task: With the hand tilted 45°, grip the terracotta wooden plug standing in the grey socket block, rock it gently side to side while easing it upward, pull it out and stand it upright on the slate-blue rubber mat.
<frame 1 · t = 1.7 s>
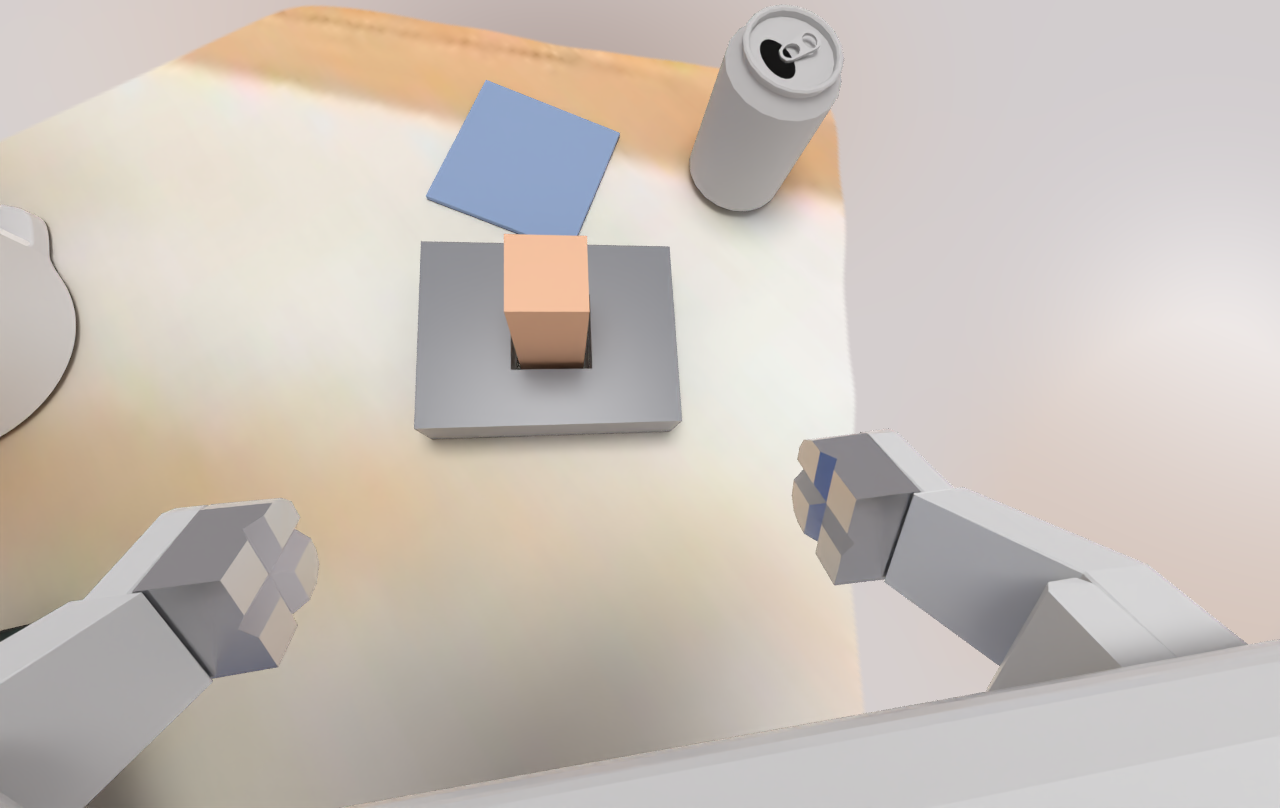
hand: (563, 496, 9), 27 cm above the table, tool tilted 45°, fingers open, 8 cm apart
mat: (527, 166, 39), on the table
plug: (550, 319, 31), in the grey socket block
grey socket block: (552, 350, 37), on the table
can: (731, 177, 42), on the table
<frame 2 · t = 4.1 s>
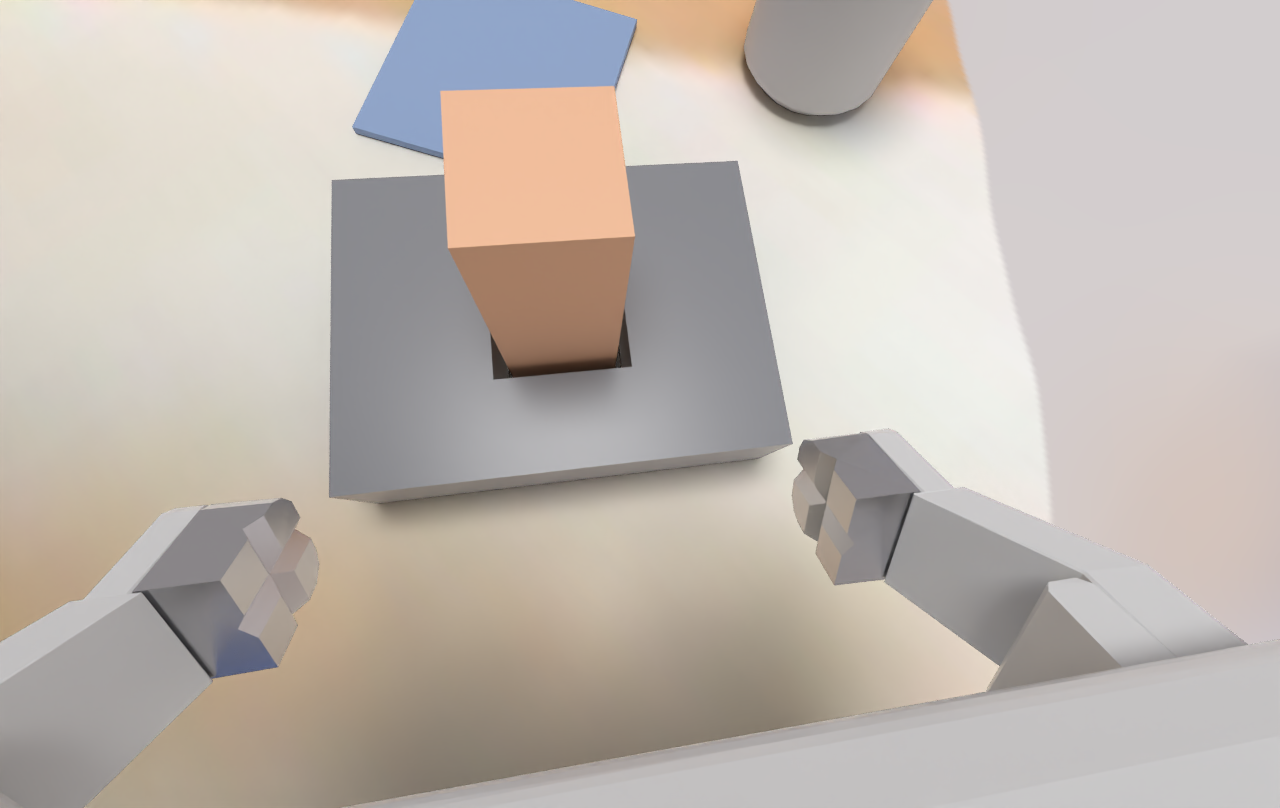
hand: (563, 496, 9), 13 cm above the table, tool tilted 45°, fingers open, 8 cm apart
mat: (504, 76, 26), on the table
plug: (554, 284, 17), in the grey socket block
grey socket block: (563, 346, 23), on the table
can: (805, 73, 28), on the table
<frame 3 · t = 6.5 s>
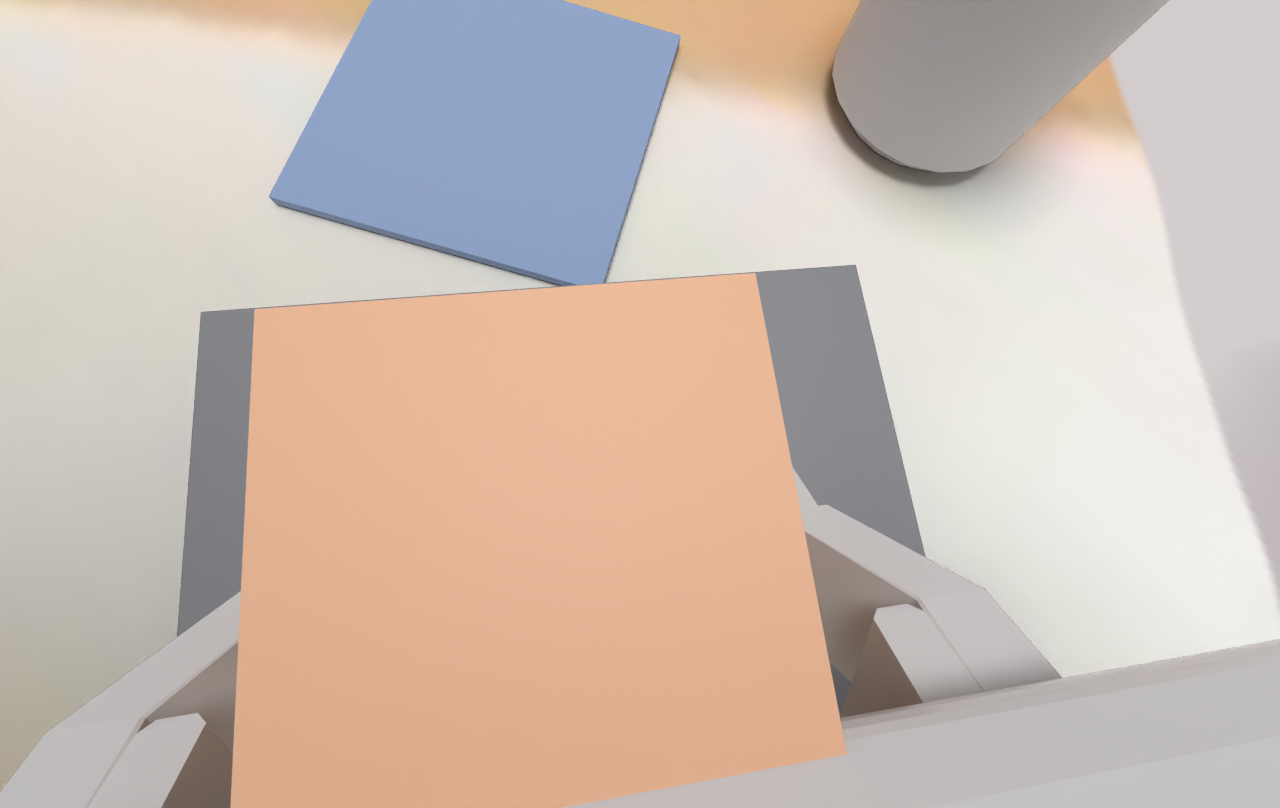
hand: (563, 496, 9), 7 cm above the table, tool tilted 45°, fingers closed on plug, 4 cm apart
mat: (493, 118, 18), on the table
plug: (570, 535, 10), in the grey socket block, touching gripper
grey socket block: (579, 533, 15), on the table
can: (911, 109, 21), on the table
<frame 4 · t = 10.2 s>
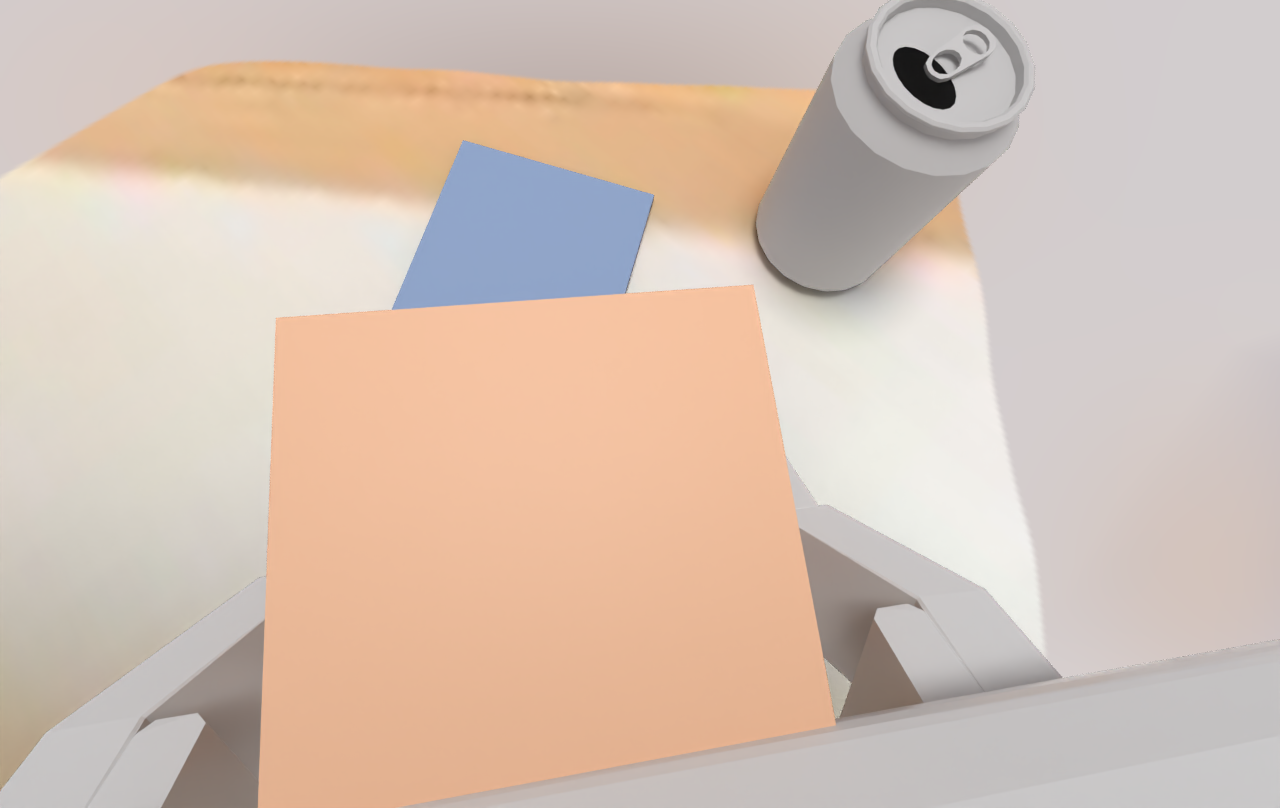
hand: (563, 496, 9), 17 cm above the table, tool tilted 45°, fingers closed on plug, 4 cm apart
mat: (529, 256, 28), on the table
plug: (570, 535, 10), point 16 cm above the table, touching gripper
can: (813, 240, 30), on the table
when the fingers open (9 cm above the table, at t = 13.9 s): plug stays where it is, resting on mat.
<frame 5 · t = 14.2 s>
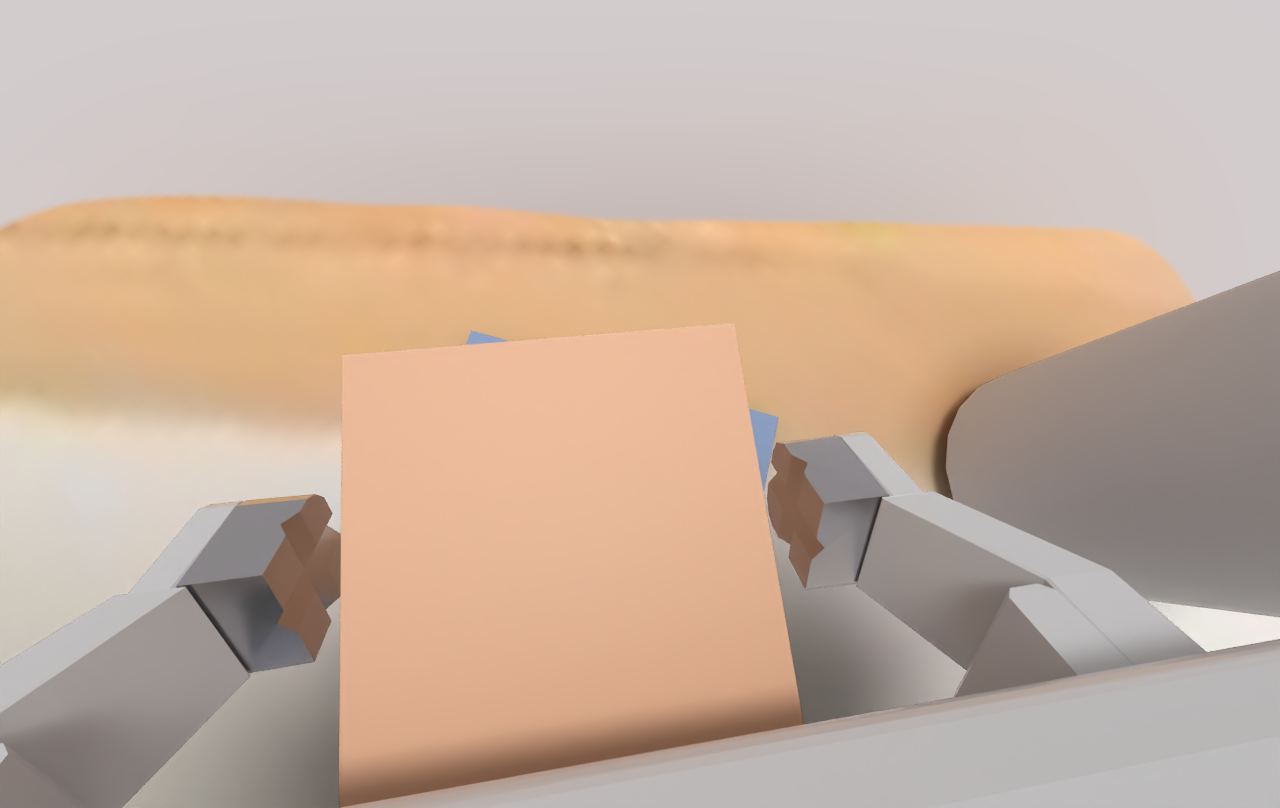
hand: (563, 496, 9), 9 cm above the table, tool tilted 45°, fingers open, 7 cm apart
mat: (580, 533, 17), on the table
plug: (579, 533, 11), on the mat
can: (1023, 478, 19), on the table
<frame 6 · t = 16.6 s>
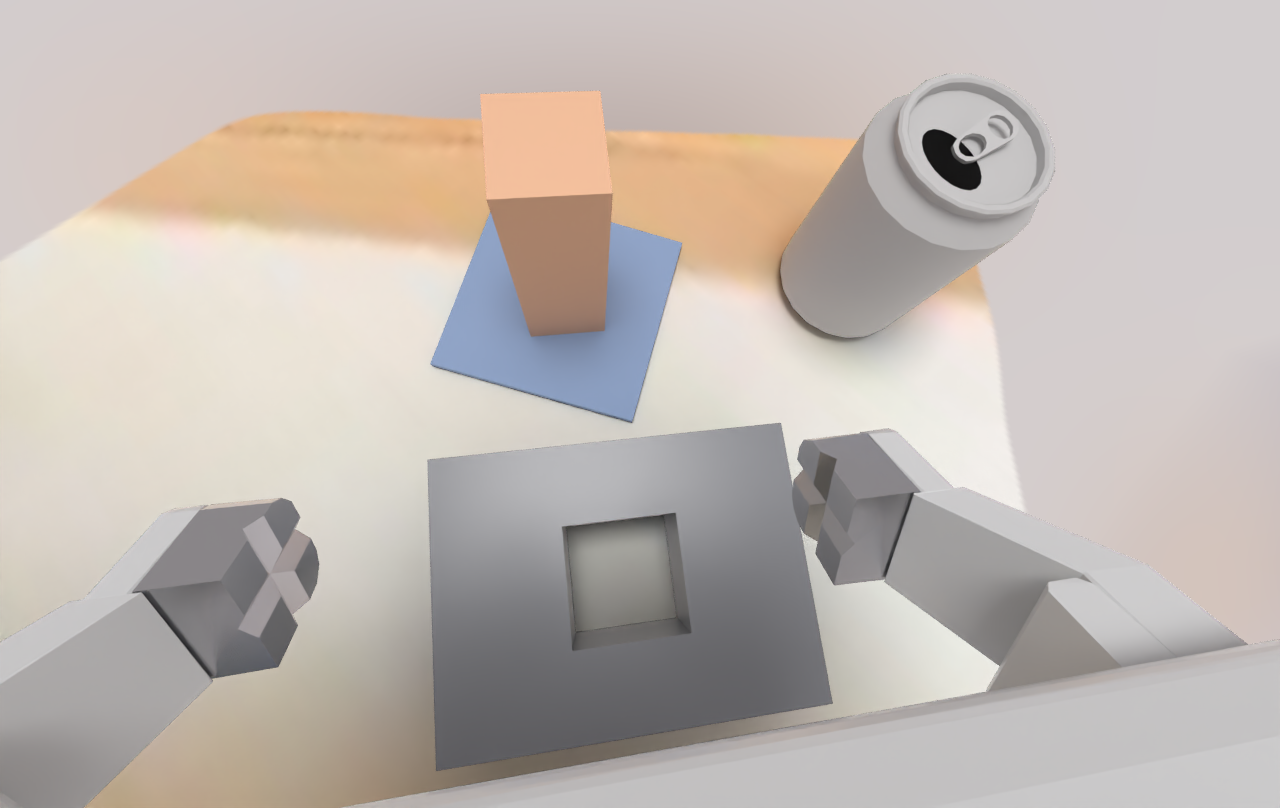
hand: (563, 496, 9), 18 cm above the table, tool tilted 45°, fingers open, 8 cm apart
mat: (563, 303, 29), on the table
plug: (557, 241, 23), on the mat
grey socket block: (621, 571, 26), on the table
can: (834, 285, 31), on the table
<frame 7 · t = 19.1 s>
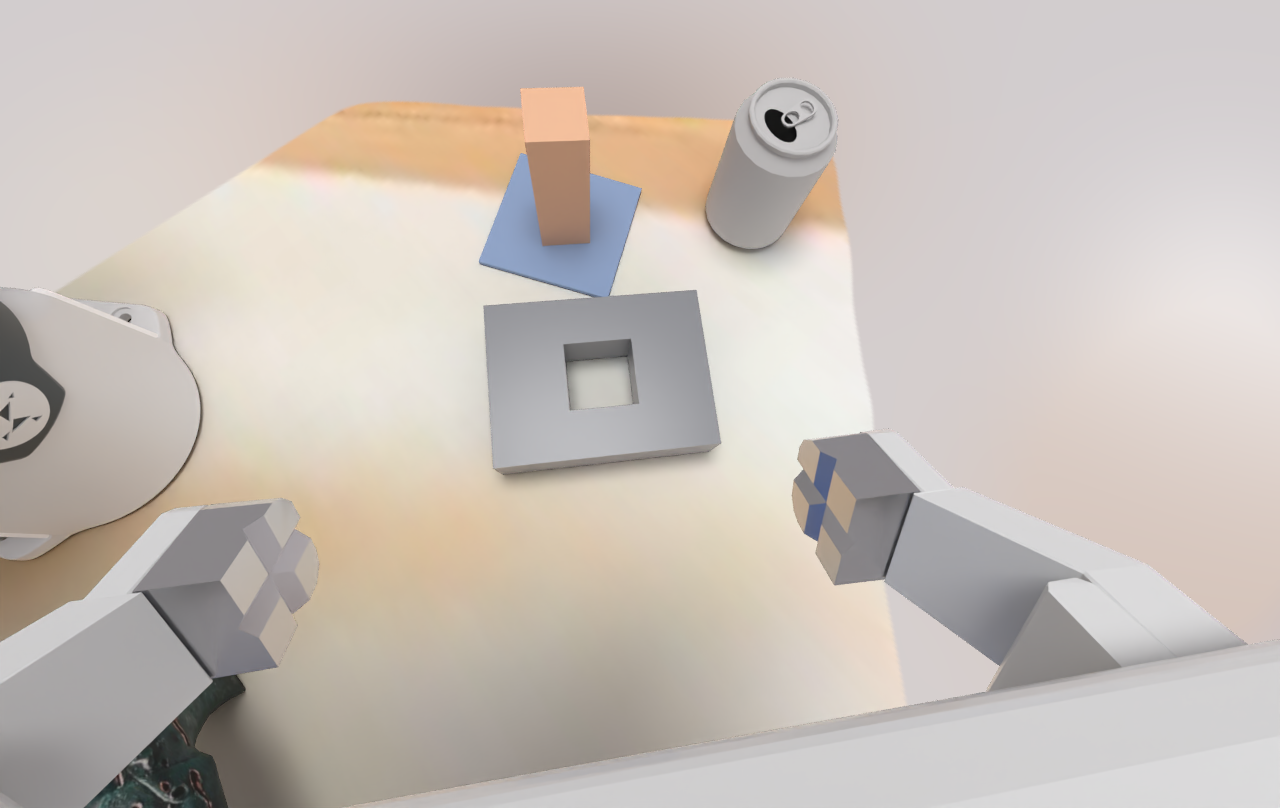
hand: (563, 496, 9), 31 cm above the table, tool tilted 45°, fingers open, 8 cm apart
mat: (563, 226, 45), on the table
plug: (560, 177, 38), on the mat
grey socket block: (600, 388, 41), on the table
can: (743, 217, 47), on the table
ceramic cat: (259, 773, 34), on the table
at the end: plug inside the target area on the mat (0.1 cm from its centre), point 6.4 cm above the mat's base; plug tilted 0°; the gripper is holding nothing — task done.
